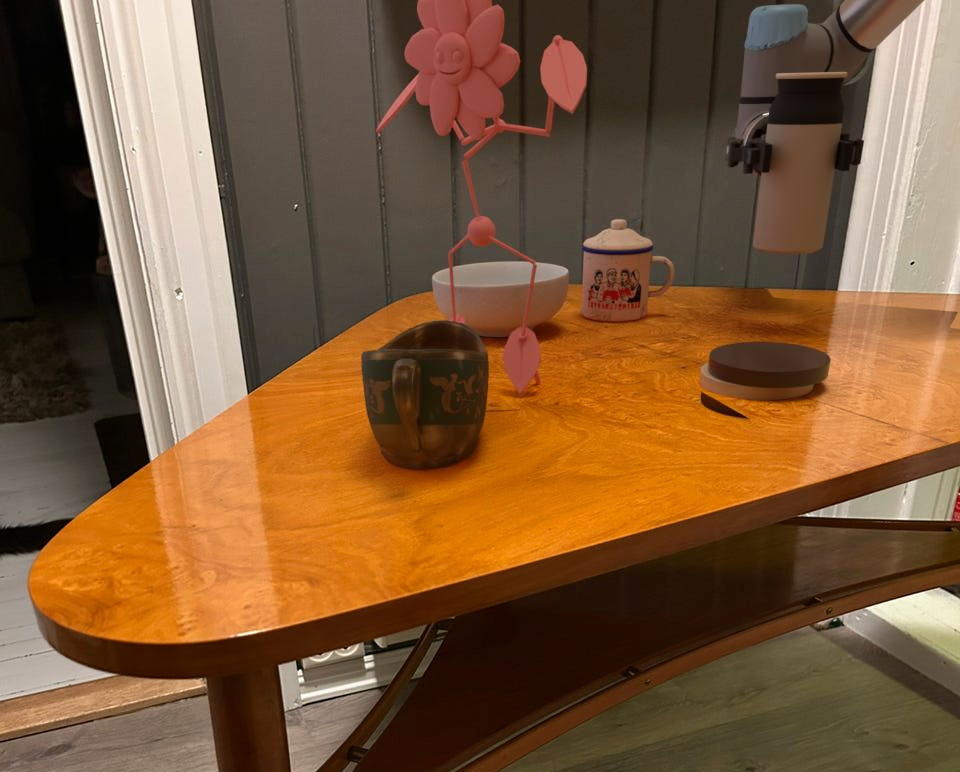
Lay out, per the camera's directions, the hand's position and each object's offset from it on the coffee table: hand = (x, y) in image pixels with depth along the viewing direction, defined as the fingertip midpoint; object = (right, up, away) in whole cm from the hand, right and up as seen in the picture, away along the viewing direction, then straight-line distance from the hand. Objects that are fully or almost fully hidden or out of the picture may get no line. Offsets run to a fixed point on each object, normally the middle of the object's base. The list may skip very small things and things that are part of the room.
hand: (807, 158), depth 102 cm
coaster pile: (-9, -30, -12) cm, 33 cm away
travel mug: (+1, -6, +9) cm, 11 cm away
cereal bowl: (-33, -14, +17) cm, 39 cm away
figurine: (-38, -27, -6) cm, 47 cm away
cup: (-40, -36, -20) cm, 57 cm away
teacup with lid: (-16, -10, +22) cm, 29 cm away
